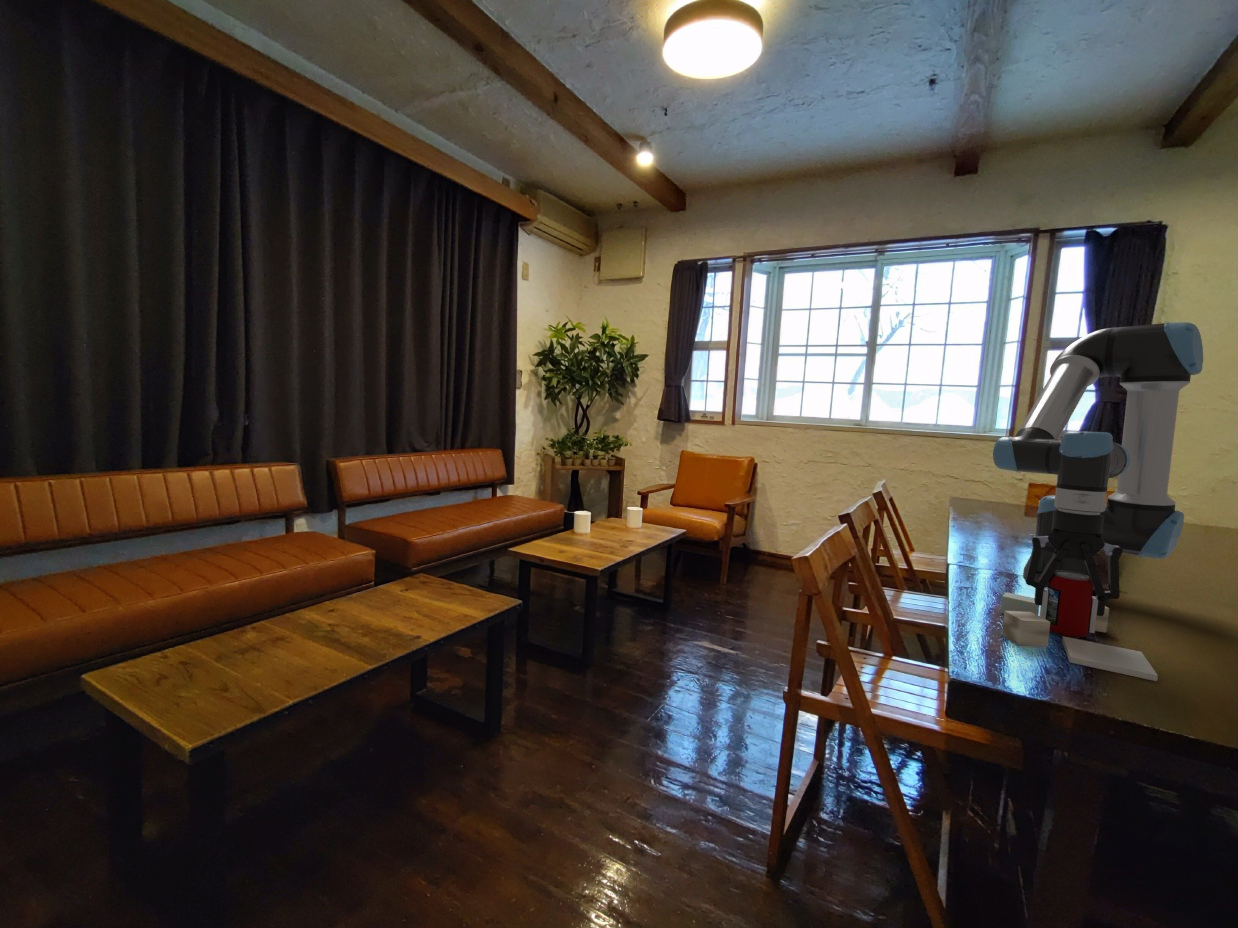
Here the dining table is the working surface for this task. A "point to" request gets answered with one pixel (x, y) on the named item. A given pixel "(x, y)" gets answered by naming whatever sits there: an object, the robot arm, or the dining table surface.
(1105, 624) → the beech block
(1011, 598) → the sage block
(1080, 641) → the plate
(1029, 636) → the maple block
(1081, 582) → the beverage can
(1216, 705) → the dining table surface
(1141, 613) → the dining table surface
